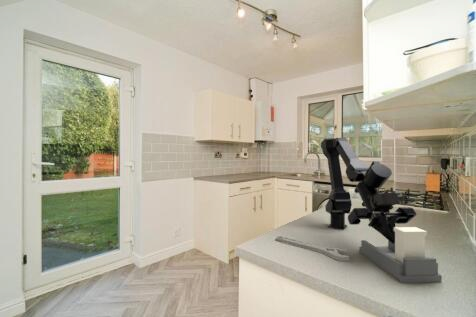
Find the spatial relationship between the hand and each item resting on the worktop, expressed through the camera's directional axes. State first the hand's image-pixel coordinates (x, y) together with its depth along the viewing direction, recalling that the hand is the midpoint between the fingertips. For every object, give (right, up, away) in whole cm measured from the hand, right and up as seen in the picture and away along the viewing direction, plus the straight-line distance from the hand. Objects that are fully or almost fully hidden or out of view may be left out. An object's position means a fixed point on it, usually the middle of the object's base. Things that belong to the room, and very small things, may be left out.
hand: (394, 242), depth 65 cm
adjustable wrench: (-20, -7, +12) cm, 24 cm away
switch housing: (0, -6, 0) cm, 6 cm away
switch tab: (0, -5, -5) cm, 7 cm away
